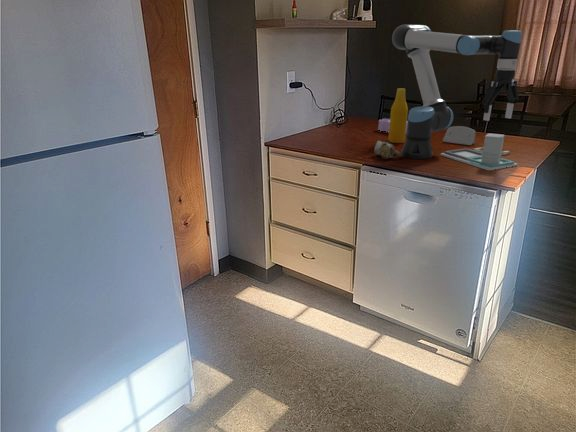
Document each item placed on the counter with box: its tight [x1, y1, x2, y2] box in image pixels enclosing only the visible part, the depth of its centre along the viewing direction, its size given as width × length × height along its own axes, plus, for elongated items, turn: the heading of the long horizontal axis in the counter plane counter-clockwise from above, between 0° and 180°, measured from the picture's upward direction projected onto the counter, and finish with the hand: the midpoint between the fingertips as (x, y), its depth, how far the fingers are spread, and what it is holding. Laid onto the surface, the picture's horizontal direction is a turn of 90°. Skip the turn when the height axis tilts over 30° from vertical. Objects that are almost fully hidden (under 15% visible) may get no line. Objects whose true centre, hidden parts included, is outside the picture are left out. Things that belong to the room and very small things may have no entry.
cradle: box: [471, 146, 511, 156], centre depth 222 cm, size 13×12×2 cm
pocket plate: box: [440, 148, 519, 172], centre depth 209 cm, size 18×30×2 cm, turn 25°
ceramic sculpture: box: [373, 139, 404, 160], centre depth 214 cm, size 11×9×15 cm
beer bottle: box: [387, 87, 409, 144], centre depth 242 cm, size 9×9×29 cm
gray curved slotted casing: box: [442, 125, 477, 146], centre depth 244 cm, size 17×5×10 cm, turn 51°
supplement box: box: [481, 133, 506, 164], centre depth 200 cm, size 7×7×13 cm
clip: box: [377, 118, 408, 136], centre depth 272 cm, size 20×12×7 cm, turn 47°
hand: (497, 119), depth 195 cm, fingers open, 13 cm apart
